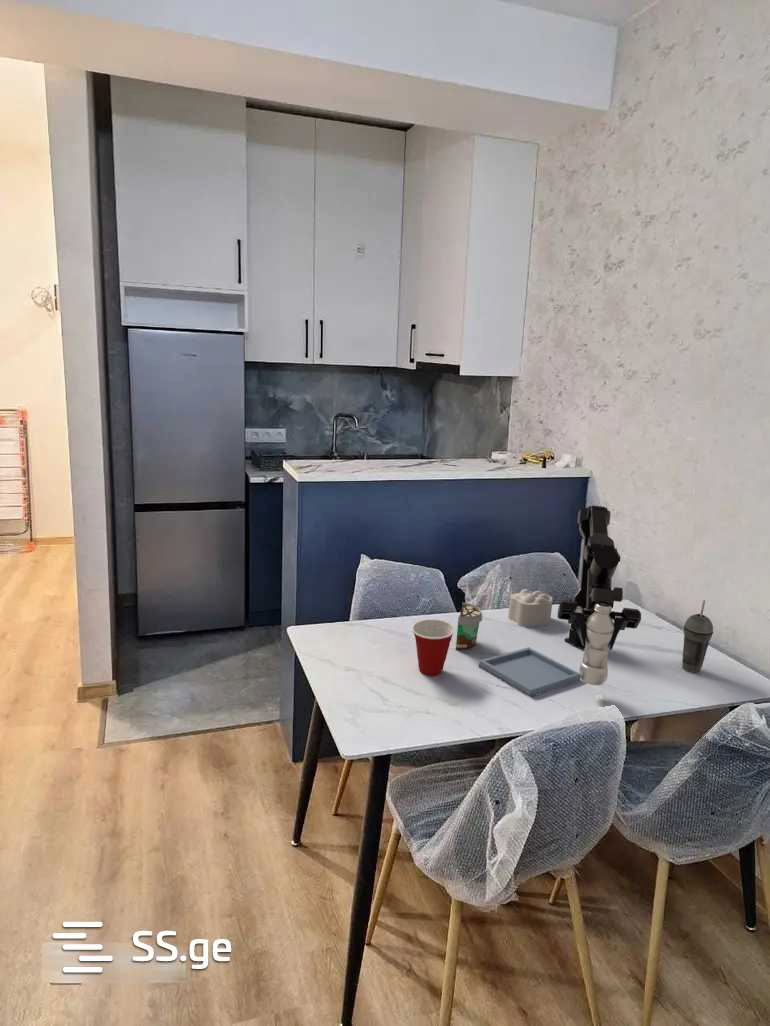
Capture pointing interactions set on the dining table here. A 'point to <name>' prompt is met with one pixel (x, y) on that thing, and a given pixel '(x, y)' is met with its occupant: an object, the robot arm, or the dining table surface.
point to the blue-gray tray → (529, 671)
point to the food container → (468, 626)
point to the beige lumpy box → (530, 608)
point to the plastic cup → (432, 644)
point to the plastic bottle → (597, 645)
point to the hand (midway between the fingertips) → (597, 647)
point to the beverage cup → (696, 641)
